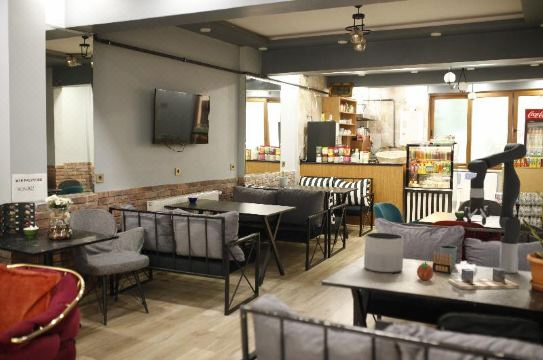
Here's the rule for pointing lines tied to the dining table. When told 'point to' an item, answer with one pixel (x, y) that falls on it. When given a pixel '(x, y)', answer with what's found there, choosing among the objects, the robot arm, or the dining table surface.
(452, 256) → the grey cup
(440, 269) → the ammunition clip
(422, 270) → the fruit
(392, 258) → the planter
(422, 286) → the dining table surface
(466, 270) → the slider
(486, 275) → the dining table surface
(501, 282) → the gauge board
